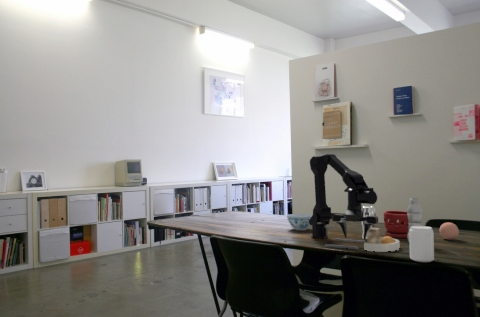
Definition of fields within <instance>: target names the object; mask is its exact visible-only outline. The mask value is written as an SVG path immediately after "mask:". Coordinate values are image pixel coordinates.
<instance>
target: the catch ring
mask: <svg viewBox="0 0 480 317" xmlns="http://www.w3.org/2000/svg"><path fill="white" fill-rule="evenodd" d="M384 237H385V236H380V244H373V243H367V242H366V243H363V248H364V249H363V250H367V252H373V251H375V252H376V253H383V252H384V253H386V252H388V251H391V252H395V250H397V251H399V250H400V249H401V247H400V246H401V245H400V244H401V242H400V240H399V239H398V238H395V237H392V238H393V240H394V243H389V244H382V239H383V238H384ZM399 248H400V249H399ZM388 253H389V252H388Z"/></svg>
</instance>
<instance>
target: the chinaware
mask: <svg viewBox="0 0 480 317" xmlns="http://www.w3.org/2000/svg"><path fill="white" fill-rule="evenodd" d="M312 215H313V214H310V213H309V214H308V213H292V214H287V215H286V217H287V222H288V223H289V224H290V225H291V227H293V228H294V231H307V230H308V228H309V227H310V226H311V225H310V224H309V220H310V218H311V217H312Z"/></svg>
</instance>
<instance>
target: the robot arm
mask: <svg viewBox="0 0 480 317" xmlns="http://www.w3.org/2000/svg"><path fill="white" fill-rule="evenodd" d="M328 165H329V166H330V167H331V168H332V169H333V170H334V171H335V172H336V173H337V174H339V175H340V176H341V178H342V182H343V183H344V185H345V186H346V188H345V189H344V191H343V192H344V193H347V209H346V211H345V212H344V214H343V213H335V214H332V208H331V207H330V206H328V205H327V204H328V203H327V193H326V178H325V177H326V176H325V174H326V172H327V171H328V170H327V169H328ZM309 166H310V171H311V172H312V174H313V177H314V192H315V194H314V195H315V196H314V197H315V205H314V208H313V209H312V214H311V215H312V217H311V218H310V220H309V224H310V226H311V231H312V232H311V233H312V235H311V236H310V237H311V239H312V238H313V239H326V238H328V237H329V236H328V227H327V226H328V225H330V222H331V221H332V222H336V224H338V225H339V226H340V228H341V230H342V232H343V236H344V239H348V238H347V235H348V233H347V232H348V230H347V229H348V228H347V222H361V221H365V222H366V223H365V224H364V227H365V228H364V239H363V240H367V239H366V236H367V232H368V230H369V228H370V226H371V225H373V224H375V225H376V224H378V223H379V217H378V216H377V215H376V216H370V215H369V216H367V217H362V216H363V214H362V207H363V205H362V204H365V205H366V204H367V205H375V204H376V203H377V201H378V195H377V192H376V191H374V188H373V187H368V184H367V183H366V181H365V180H364V176H363V174H361V173H359V172H358V171H354V170H352V169H350V168H349V167H348V166H347V165H346V164H345V163H344V162H342V160H340V159H339V158H338V157H337V156H336V154H333V153H326V154H324V155H319V156H312V157H311V158H310V159H309ZM331 218H332V219H331Z"/></svg>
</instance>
